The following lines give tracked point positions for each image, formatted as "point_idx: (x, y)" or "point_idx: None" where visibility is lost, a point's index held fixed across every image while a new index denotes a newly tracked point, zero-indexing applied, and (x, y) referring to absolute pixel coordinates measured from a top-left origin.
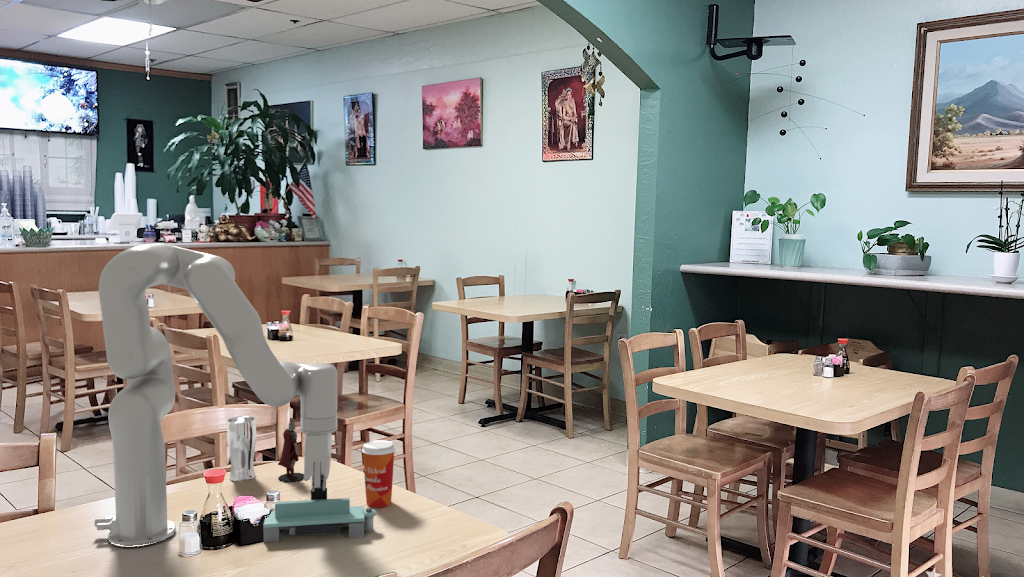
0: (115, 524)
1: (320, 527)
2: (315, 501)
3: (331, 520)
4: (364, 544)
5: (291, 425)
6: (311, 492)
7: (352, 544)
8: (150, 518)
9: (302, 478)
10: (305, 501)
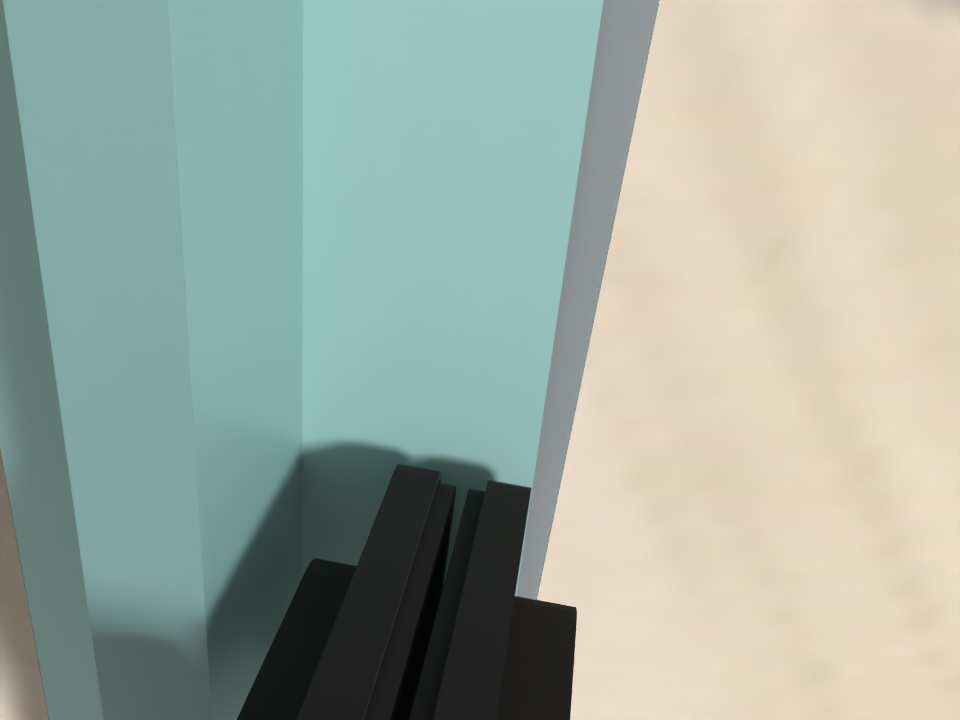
0: None
1: None
2: (110, 642)
3: (32, 622)
4: (18, 689)
5: None
6: (305, 708)
7: (20, 611)
8: None
9: None
10: (133, 479)
